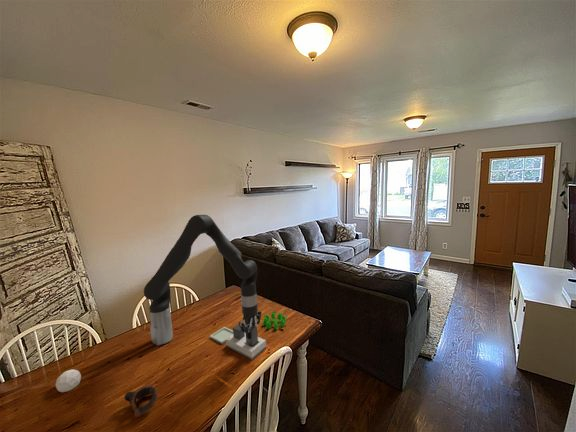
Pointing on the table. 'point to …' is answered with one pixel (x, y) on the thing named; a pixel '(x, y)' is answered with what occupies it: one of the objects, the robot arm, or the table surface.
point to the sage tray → (221, 335)
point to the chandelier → (274, 320)
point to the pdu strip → (244, 344)
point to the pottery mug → (139, 395)
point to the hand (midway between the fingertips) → (251, 336)
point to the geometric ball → (68, 380)
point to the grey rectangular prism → (252, 336)
